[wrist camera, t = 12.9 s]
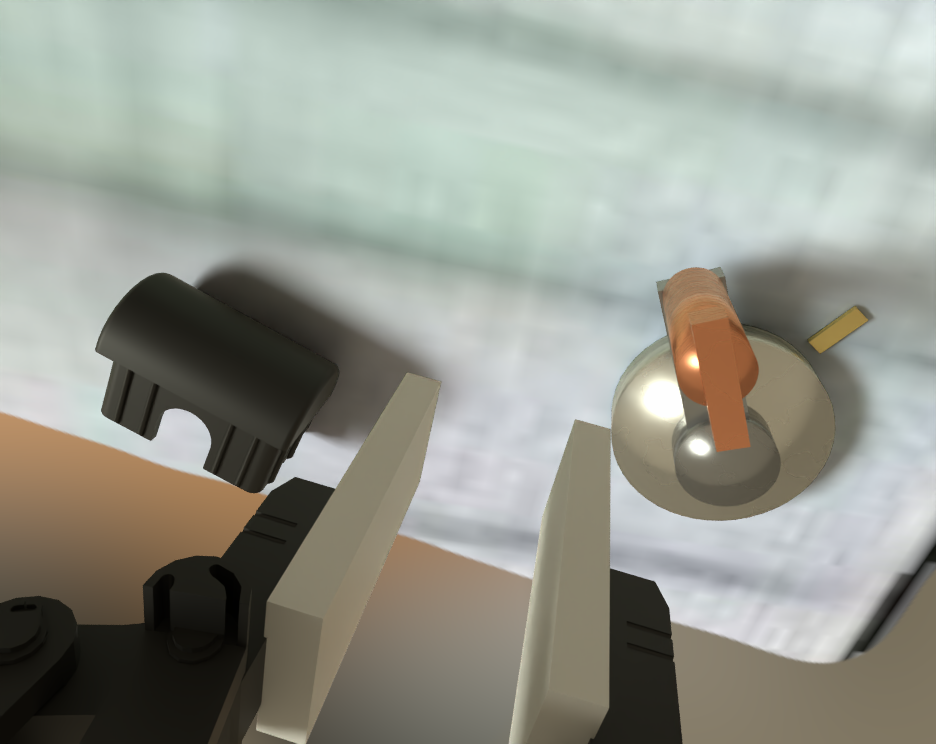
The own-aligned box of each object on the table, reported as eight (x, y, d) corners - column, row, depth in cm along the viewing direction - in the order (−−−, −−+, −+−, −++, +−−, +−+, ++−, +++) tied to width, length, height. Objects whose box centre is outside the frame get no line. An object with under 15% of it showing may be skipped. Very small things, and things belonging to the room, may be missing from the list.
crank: (777, 473, 31) (836, 631, 23) (680, 486, 33) (704, 641, 24) (736, 220, 27) (792, 303, 18) (626, 247, 28) (631, 337, 20)
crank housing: (591, 347, 33) (590, 364, 31) (863, 290, 29) (879, 306, 27) (633, 508, 37) (635, 532, 35) (880, 475, 33) (895, 500, 31)
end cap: (357, 343, 36) (306, 405, 30) (312, 437, 39) (259, 509, 33) (190, 251, 35) (104, 295, 29) (159, 355, 38) (77, 413, 32)
